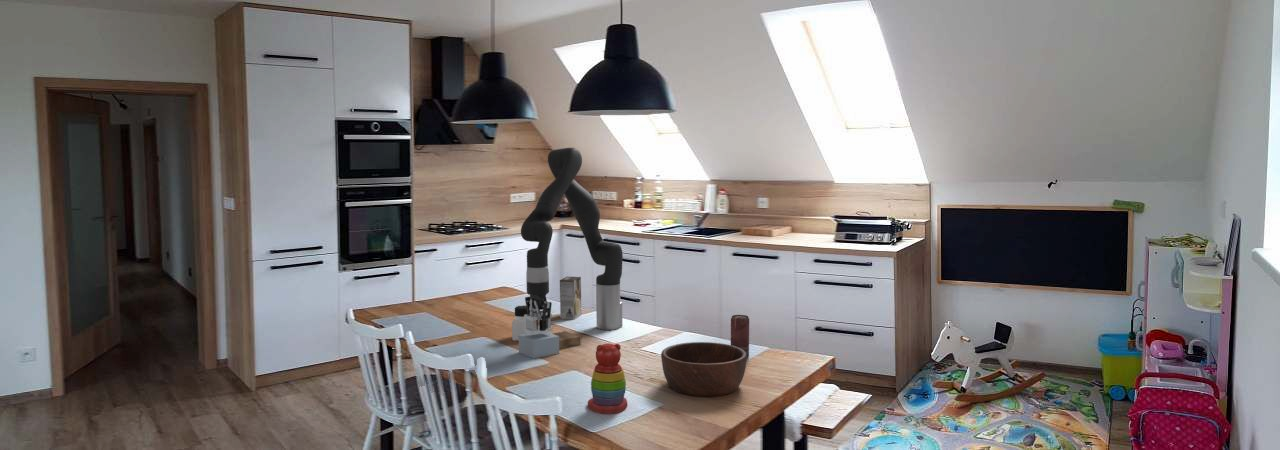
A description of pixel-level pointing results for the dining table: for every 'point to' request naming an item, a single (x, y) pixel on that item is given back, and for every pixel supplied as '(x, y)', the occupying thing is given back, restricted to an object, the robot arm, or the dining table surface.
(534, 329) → the housing
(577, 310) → the coffee box
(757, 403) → the dining table surface
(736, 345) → the can
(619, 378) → the stacking bear
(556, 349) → the stand
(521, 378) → the dining table surface
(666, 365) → the wooden bowl
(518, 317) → the medicine bottle
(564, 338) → the stand
